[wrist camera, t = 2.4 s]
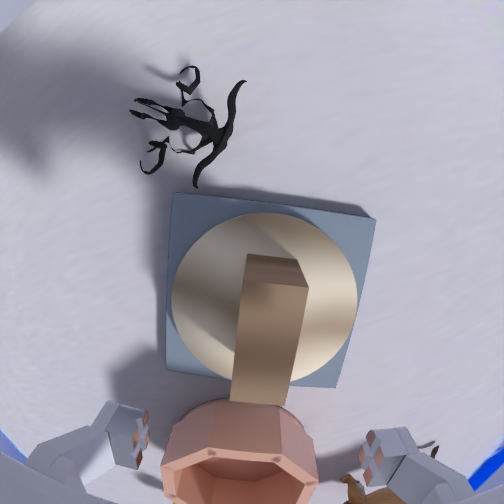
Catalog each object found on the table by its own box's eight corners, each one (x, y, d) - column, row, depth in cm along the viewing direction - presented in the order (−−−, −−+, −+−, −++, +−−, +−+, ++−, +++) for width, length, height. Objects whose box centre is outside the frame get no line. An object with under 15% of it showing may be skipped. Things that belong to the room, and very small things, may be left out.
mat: (176, 192, 20) (172, 193, 19) (371, 217, 20) (376, 219, 19) (169, 362, 23) (166, 369, 22) (333, 380, 23) (335, 387, 22)
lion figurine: (327, 503, 28) (336, 561, 19) (310, 487, 27) (318, 551, 18) (439, 452, 26) (467, 505, 17) (433, 430, 25) (466, 488, 16)
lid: (180, 202, 19) (148, 213, 14) (368, 225, 19) (408, 246, 14) (173, 365, 22) (151, 417, 16) (332, 382, 22) (348, 436, 16)
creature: (123, 161, 21) (217, 204, 20) (73, 153, 16) (179, 205, 15) (167, 64, 19) (268, 93, 18) (127, 33, 14) (247, 57, 13)
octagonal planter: (175, 387, 24) (156, 437, 18) (320, 403, 24) (332, 454, 18) (178, 469, 27) (167, 512, 21) (292, 481, 27) (295, 525, 21)
